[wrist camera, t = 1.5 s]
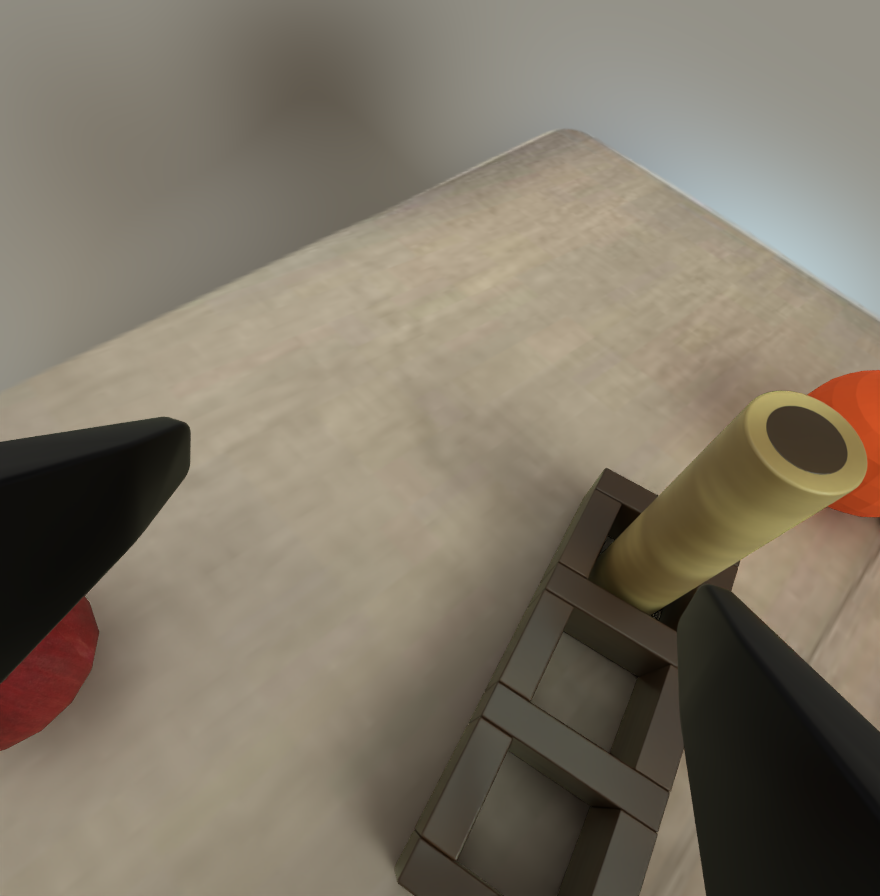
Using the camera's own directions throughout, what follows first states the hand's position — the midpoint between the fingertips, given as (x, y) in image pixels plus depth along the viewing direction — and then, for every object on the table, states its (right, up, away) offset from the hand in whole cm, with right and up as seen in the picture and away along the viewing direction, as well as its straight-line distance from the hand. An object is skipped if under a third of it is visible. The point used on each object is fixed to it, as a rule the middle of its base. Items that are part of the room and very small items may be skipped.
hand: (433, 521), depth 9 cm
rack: (+6, -9, +13) cm, 17 cm away
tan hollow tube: (+8, -5, +15) cm, 18 cm away
